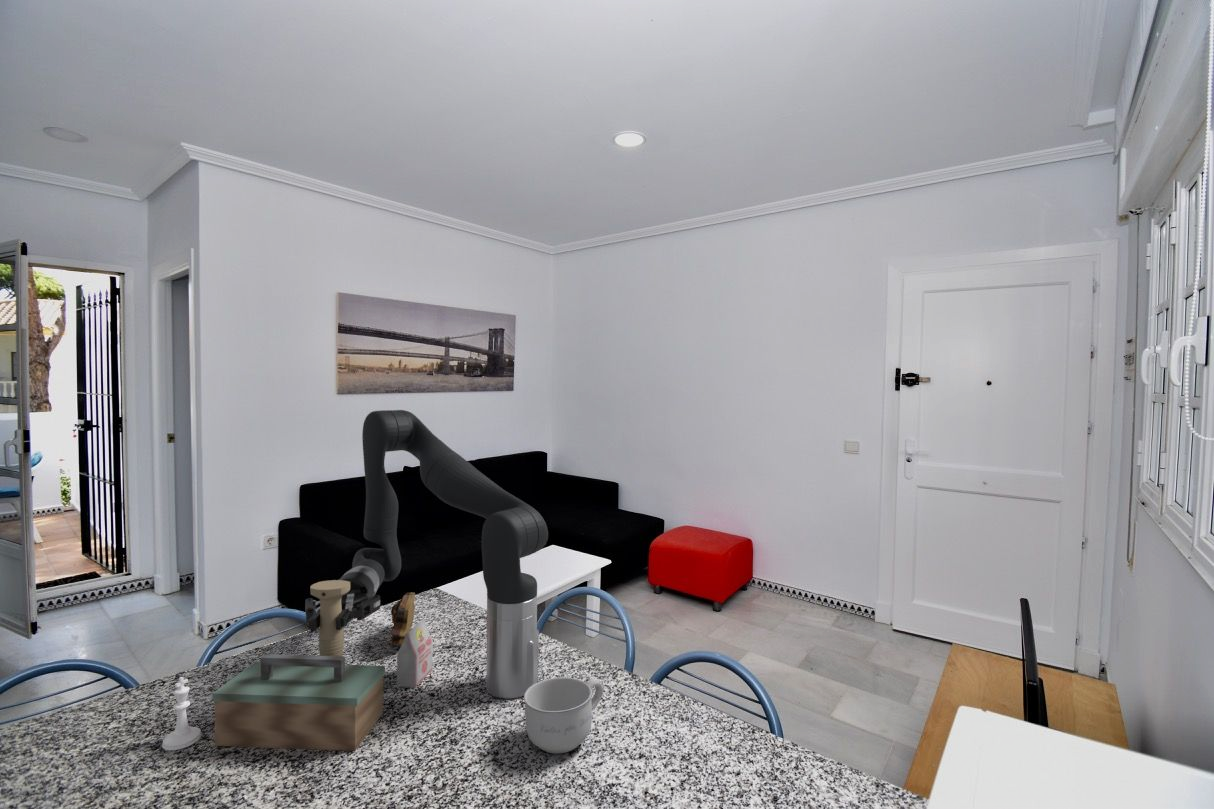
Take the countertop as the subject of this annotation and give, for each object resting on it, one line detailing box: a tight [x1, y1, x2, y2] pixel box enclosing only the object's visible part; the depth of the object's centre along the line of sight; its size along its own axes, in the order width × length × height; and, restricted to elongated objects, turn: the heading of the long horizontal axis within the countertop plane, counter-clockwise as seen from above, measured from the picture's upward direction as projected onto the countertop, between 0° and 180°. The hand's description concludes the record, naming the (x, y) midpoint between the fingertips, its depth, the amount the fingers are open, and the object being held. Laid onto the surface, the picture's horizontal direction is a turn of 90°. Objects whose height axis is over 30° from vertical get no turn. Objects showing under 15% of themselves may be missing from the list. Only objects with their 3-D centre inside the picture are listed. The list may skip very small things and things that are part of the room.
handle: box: [309, 579, 350, 657], centre depth 100 cm, size 5×6×15 cm
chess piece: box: [161, 676, 202, 751], centre depth 88 cm, size 5×5×10 cm
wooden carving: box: [390, 592, 416, 646], centre depth 124 cm, size 16×5×10 cm, turn 16°
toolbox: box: [212, 653, 386, 752], centre depth 96 cm, size 23×18×12 cm
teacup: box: [523, 676, 604, 755], centre depth 90 cm, size 14×11×8 cm
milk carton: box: [396, 619, 433, 689], centre depth 108 cm, size 4×7×10 cm, turn 171°
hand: (325, 625), depth 97 cm, fingers closed on handle, 3 cm apart
